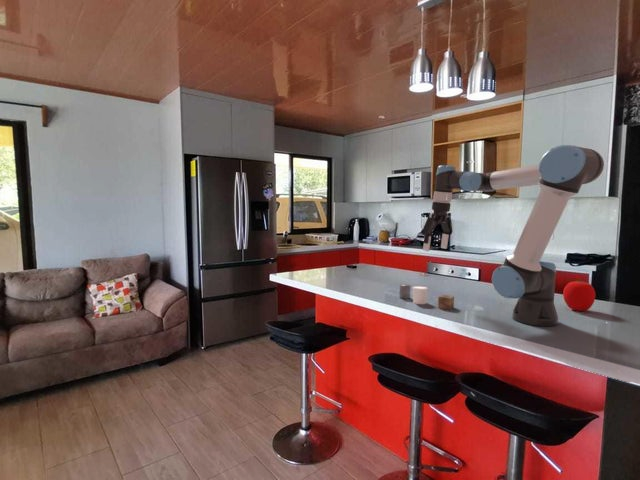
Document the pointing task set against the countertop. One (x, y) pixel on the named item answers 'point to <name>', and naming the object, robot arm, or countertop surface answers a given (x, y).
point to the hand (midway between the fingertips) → (435, 249)
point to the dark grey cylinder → (404, 291)
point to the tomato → (579, 295)
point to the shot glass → (419, 294)
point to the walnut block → (446, 302)
